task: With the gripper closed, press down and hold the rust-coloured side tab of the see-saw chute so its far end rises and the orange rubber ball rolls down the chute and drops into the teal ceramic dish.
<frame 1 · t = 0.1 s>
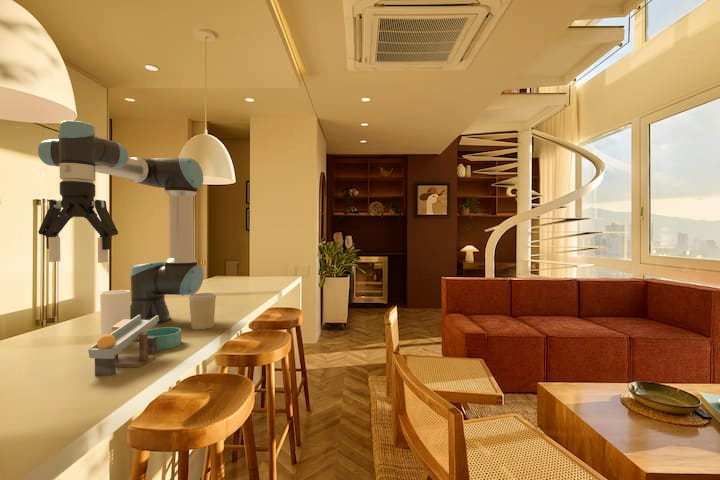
hand: (78, 262, 99), 28 cm above the worktop, fingers open, 13 cm apart
ball: (106, 342, 95), point 8 cm above the worktop, tilted 16°, touching lever
dish: (162, 344, 118), on the worktop
lever: (119, 336, 102), point 7 cm above the worktop, hinge at 12.0°, touching ball
coffee cup: (202, 327, 141), on the worktop
stand: (128, 362, 103), on the worktop
cup: (116, 340, 123), on the worktop
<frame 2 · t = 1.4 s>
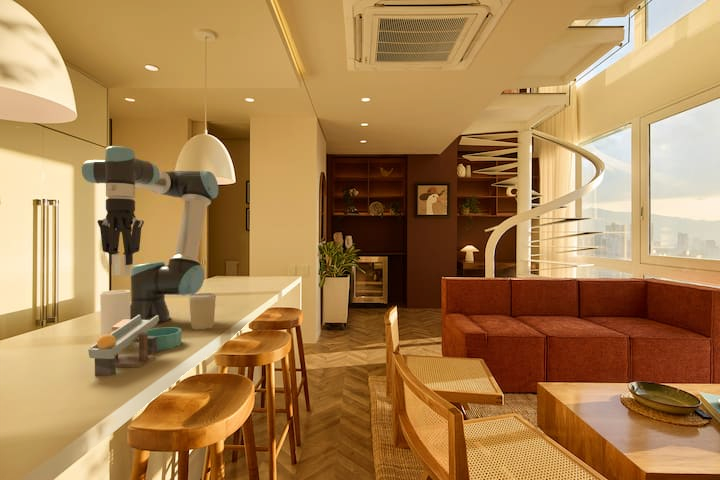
hand: (121, 275, 114), 23 cm above the worktop, fingers open, 3 cm apart
nothing on the worktop moved.
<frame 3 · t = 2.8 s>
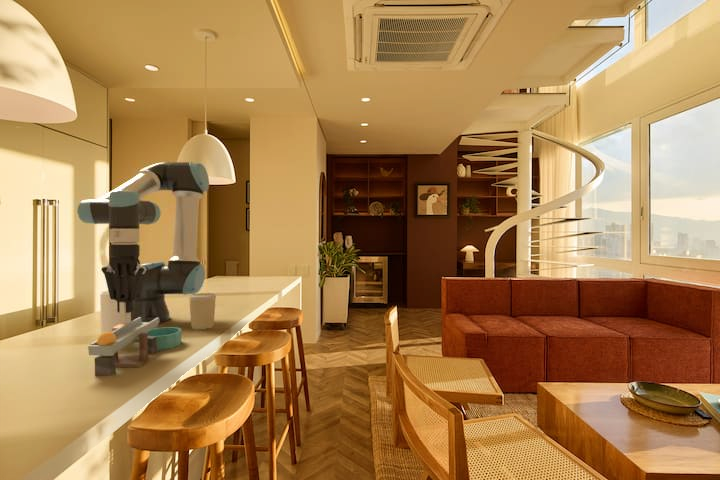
hand: (125, 323, 110), 9 cm above the worktop, fingers closed
ball: (106, 339, 95), point 9 cm above the worktop, tilted 11°, touching lever
lever: (119, 336, 102), point 7 cm above the worktop, hinge at 7.3°, touching ball, gripper
everything else where it was.
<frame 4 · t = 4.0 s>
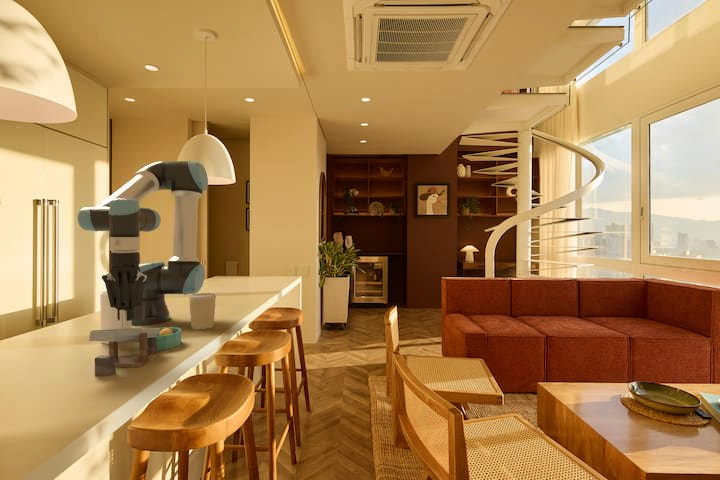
hand: (125, 331, 110), 6 cm above the worktop, fingers closed
ball: (166, 334, 120), point 3 cm above the worktop, tilted 71°, touching dish
lever: (119, 335, 103), point 7 cm above the worktop, hinge at -12.9°, touching gripper, stand
everything else where it was.
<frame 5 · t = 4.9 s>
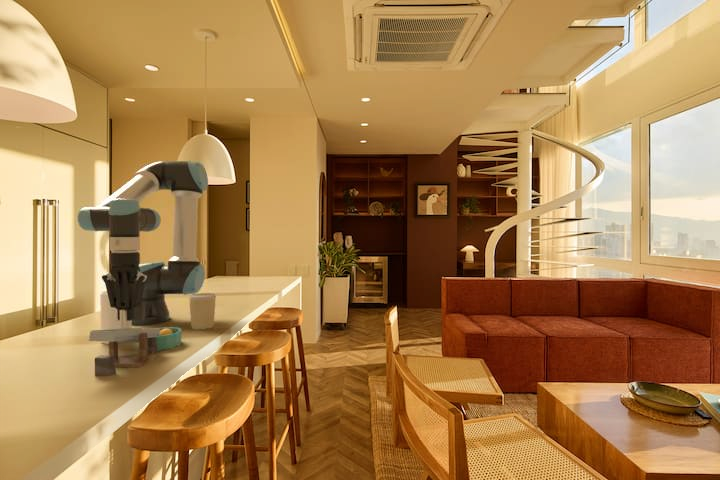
hand: (125, 331, 110), 6 cm above the worktop, fingers closed
nothing on the worktop moved.
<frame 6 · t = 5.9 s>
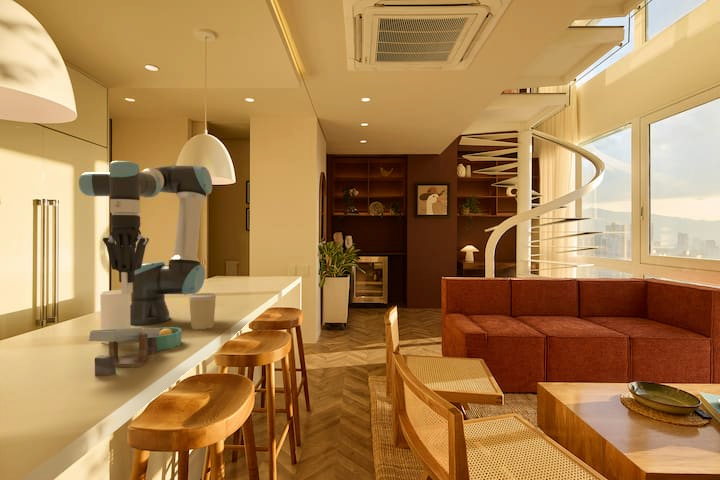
hand: (127, 293, 111), 17 cm above the worktop, fingers closed
lever: (119, 335, 103), point 7 cm above the worktop, hinge at -12.9°, touching stand
everything else where it was.
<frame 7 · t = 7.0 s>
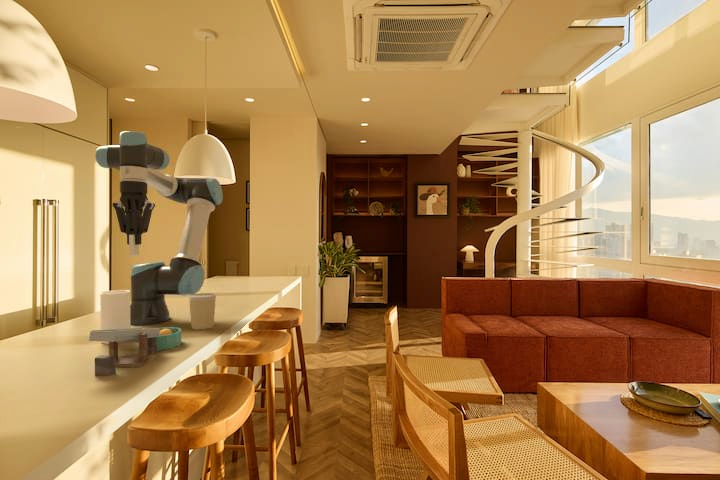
hand: (134, 254, 120), 28 cm above the worktop, fingers closed
nothing on the worktop moved.
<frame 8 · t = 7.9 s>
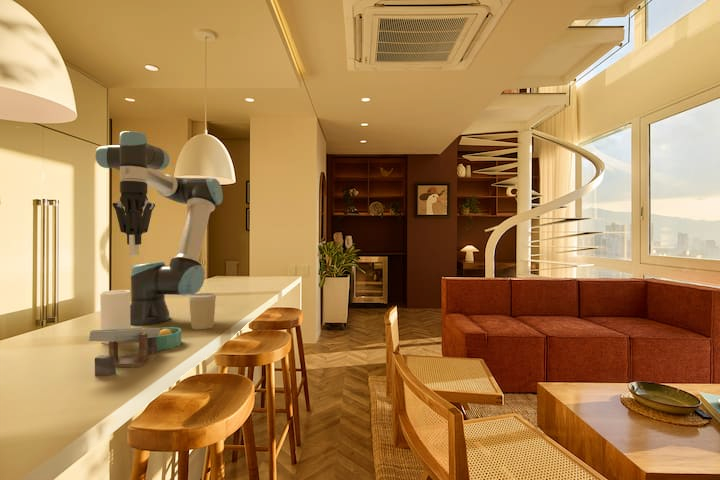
hand: (134, 254, 120), 28 cm above the worktop, fingers closed
nothing on the worktop moved.
at the end: ball inside the target area on the dish (1.7 cm from its centre), point 2.6 cm above the dish's base; lever at -13° (first picture: +12°) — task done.
